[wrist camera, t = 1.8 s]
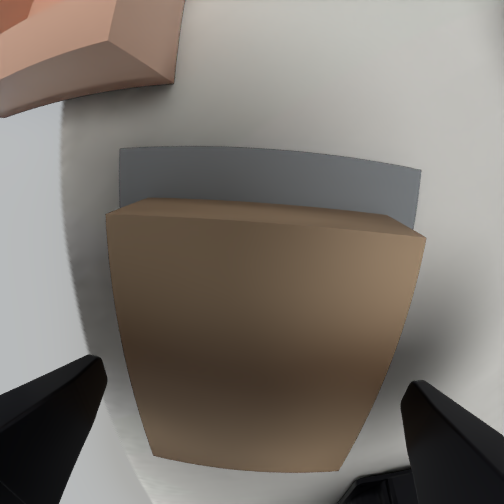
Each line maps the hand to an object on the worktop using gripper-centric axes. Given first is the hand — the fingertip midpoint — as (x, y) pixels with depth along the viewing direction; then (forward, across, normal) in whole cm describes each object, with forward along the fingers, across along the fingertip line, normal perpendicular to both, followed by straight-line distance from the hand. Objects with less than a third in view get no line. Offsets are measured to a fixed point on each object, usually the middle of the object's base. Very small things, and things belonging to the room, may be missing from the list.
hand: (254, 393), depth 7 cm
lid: (+2, 0, 0) cm, 2 cm away
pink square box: (+3, +7, -12) cm, 14 cm away
